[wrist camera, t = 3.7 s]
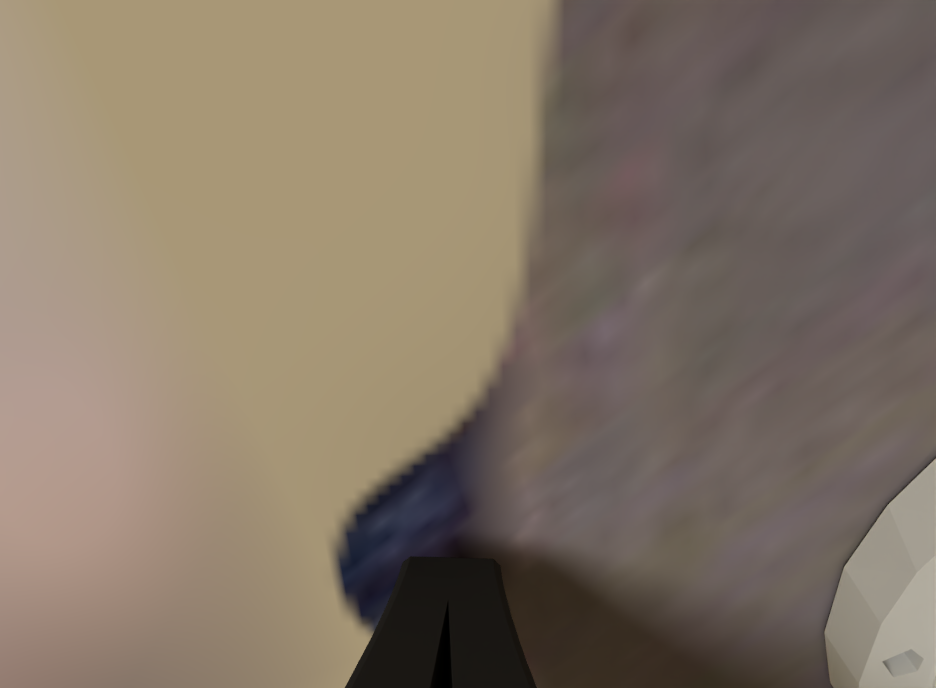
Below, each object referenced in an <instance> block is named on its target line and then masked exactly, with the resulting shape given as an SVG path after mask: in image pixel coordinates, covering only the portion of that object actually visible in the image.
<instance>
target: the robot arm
mask: <svg viewBox="0 0 936 688" xmlns="http://www.w3.org/2000/svg"><path fill="white" fill-rule="evenodd" d="M345 688H537V687H536V684H535V682H534V679H533V677H532V674H531V672H530V669H529V667H528V664H527V661H526V659H525V656H524V653H523V650H522V647H521V645H520V642H519V639H518V635H517V632H516V629H515V626H514V623H513V620H512V617H511V613H510V610H509V606H508V603H507V599H506V595H505V590H504V586H503V581H502V576H501V568H500V565H499V564H498V563H497V562H496V561H495V560H494V559H478V558H445V557H409V558H408V559H407V560H405V561H404V562H403V564H402V567H401V570H400V573H399V576H398V579H397V581H396V584H395V587H394V589H393V592H392V594H391V596H390V599H389V601H388V603H387V606H386V608H385V610H384V612H383V614H382V617H381V619H380V621H379V623H378V625H377V627H376V629H375V631H374V633H373V636H372V638H371V640H370V641H369V643H368V645H367V647H366V649H365V651H364V653H363V655H362V657H361V659H360V660H359V662H358V664H357V666H356V668H355V670H354V672H353V674H352V676H351V677H350V679H349V681H348V683H347V685H346V687H345Z"/></svg>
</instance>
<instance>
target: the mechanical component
mask: <svg viewBox="0 0 936 688" xmlns="http://www.w3.org/2000/svg"><path fill="white" fill-rule="evenodd" d="M824 635H825V643H826V652H827V661H828V669H829V678H830V683H831V685H832V687H833V688H936V459H935V460H934V461H933V462H932V463H930V464H929V465H928V466H927V467H926V468H925V469H924V470H923V471H922V472H921V473H920V474H919V475H918V476H917V477H916V478H915V479H914V480H913V481H912V482H911V483H910V484H909V485H908V486H907V487H906V488H905V489H904V490H903V491H902V492H901V493H899V494H898V495H897V496H896V497H895V498H894V499H893V500H892V501H891V502H890V503H889V504H888V505H887V507H886V508H885V510H884V511H883V512H882V514H881V515H880V517H879V518H878V519H877V521H876V522H875V524H874V525H873V527H872V528H871V529H870V531H869V532H868V534H867V535H866V537H865V538H864V539H863V541H862V542H861V544H860V545H859V546H858V548H857V549H856V551H855V552H854V554H853V555H852V556H851V558H850V559H849V561H848V562H847V564H846V565H845V566H844V569H843V572H842V575H841V579H840V582H839V585H838V589H837V592H836V595H835V599H834V602H833V605H832V609H831V612H830V615H829V618H828V622H827V625H826V628H825V632H824Z"/></svg>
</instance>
